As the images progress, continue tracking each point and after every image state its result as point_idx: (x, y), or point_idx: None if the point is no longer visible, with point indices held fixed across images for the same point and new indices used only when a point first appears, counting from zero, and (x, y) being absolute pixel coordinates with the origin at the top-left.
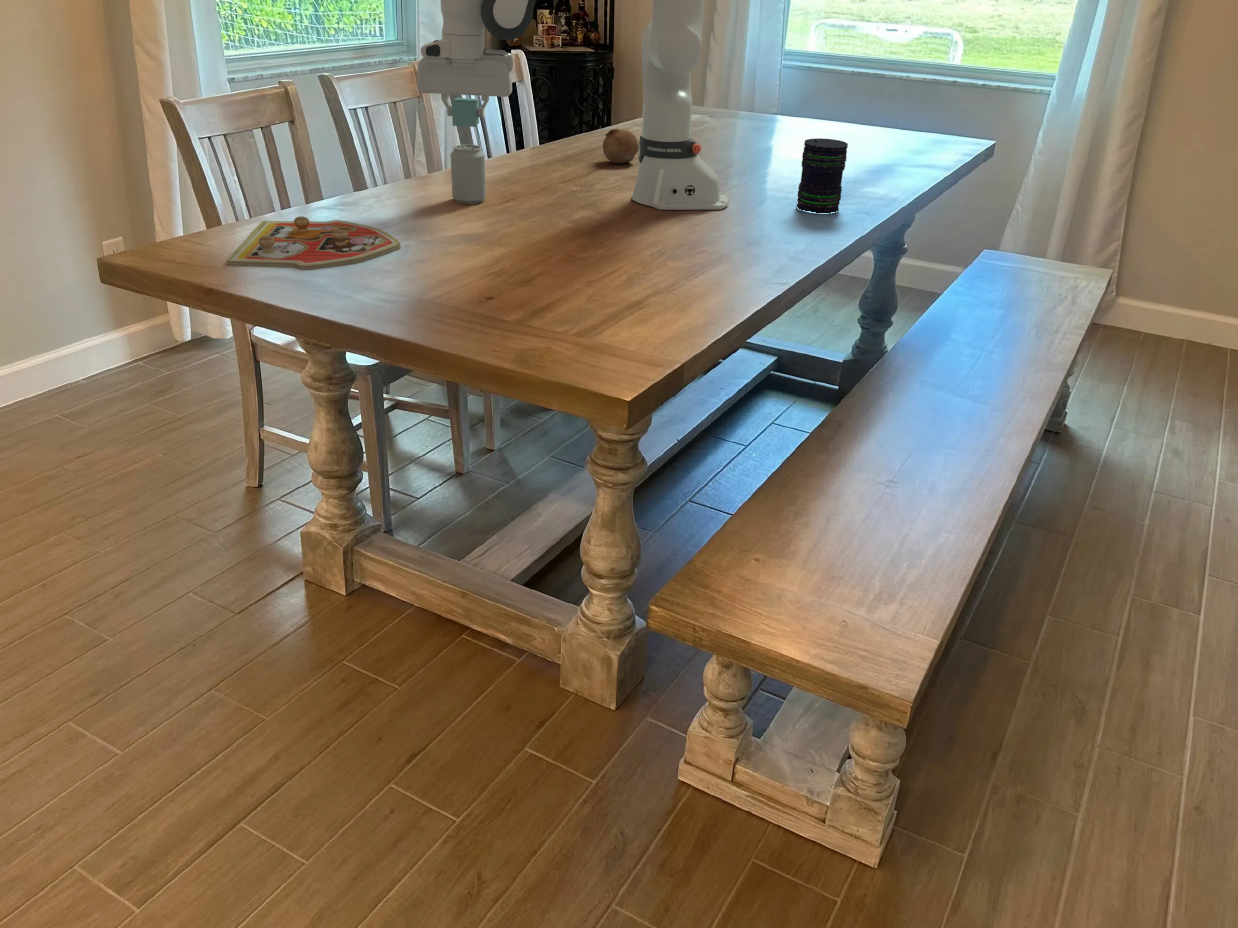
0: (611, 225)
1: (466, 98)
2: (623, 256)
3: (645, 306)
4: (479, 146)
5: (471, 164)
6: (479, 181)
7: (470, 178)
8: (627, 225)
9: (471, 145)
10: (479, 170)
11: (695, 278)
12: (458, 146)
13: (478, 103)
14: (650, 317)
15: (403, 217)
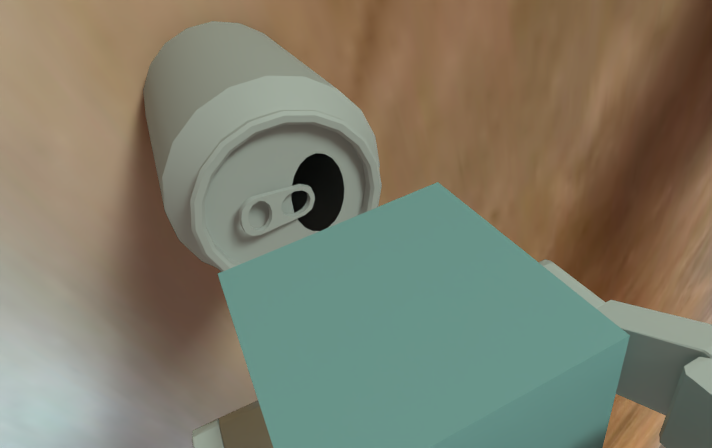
0: (659, 143)
1: (471, 435)
2: (643, 303)
3: (633, 418)
4: (358, 143)
5: (324, 228)
6: (319, 156)
7: (295, 198)
8: (690, 124)
9: (284, 122)
10: (339, 176)
11: (706, 320)
12: (207, 190)
13: (578, 312)
14: (632, 434)
15: (139, 387)
